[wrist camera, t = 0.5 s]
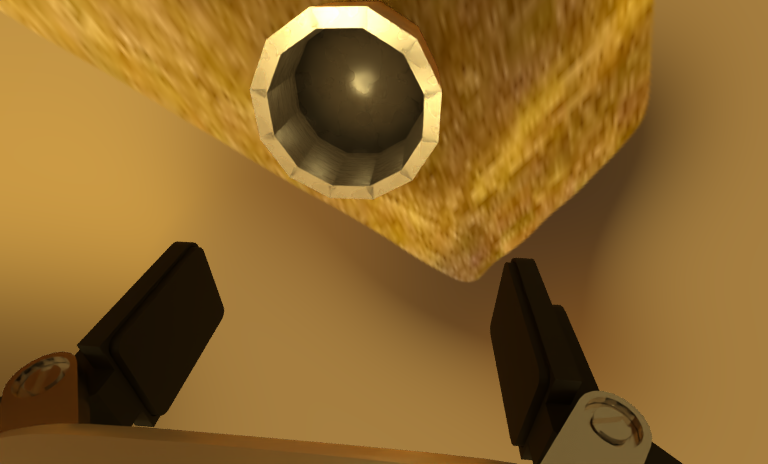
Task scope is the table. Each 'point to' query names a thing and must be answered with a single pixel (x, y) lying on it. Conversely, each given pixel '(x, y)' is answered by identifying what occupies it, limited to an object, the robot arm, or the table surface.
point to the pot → (348, 99)
